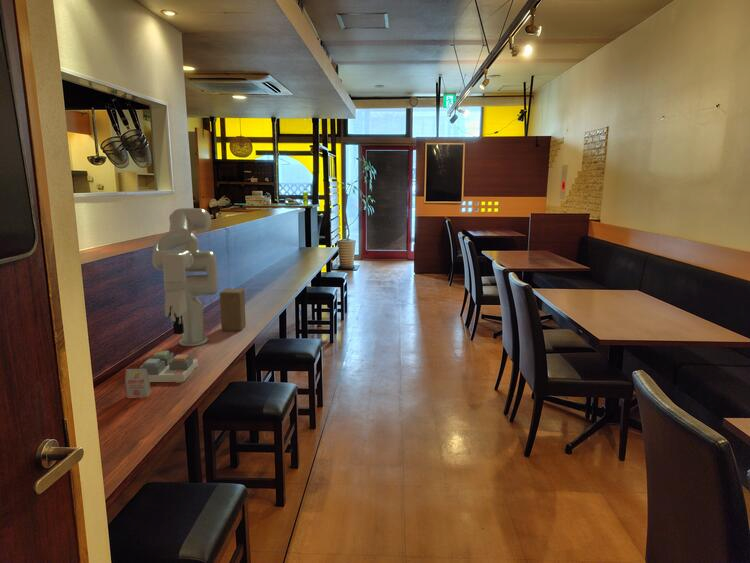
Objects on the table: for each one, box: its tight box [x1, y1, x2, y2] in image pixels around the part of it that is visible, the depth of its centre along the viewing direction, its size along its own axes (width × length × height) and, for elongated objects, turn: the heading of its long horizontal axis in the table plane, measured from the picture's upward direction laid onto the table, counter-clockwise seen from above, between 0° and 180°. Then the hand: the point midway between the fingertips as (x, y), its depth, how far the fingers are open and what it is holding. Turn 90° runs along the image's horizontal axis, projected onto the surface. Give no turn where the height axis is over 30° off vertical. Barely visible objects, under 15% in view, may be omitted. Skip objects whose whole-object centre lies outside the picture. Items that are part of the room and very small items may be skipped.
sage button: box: [153, 350, 170, 358], centre depth 187 cm, size 4×4×2 cm
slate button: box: [143, 358, 160, 366], centre depth 178 cm, size 4×4×2 cm
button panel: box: [138, 352, 199, 382], centre depth 183 cm, size 16×16×6 cm
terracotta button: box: [173, 354, 189, 362], centre depth 183 cm, size 4×4×2 cm
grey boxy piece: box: [124, 368, 152, 398], centre depth 164 cm, size 4×7×10 cm, turn 96°
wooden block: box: [219, 288, 247, 332], centre depth 242 cm, size 10×10×20 cm
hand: (178, 333), depth 180 cm, fingers closed
